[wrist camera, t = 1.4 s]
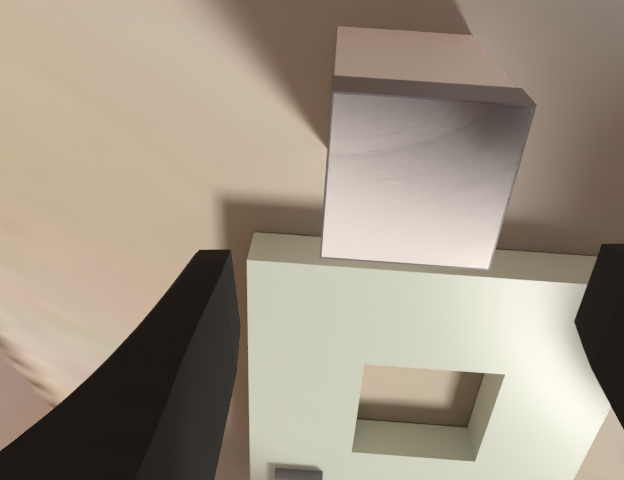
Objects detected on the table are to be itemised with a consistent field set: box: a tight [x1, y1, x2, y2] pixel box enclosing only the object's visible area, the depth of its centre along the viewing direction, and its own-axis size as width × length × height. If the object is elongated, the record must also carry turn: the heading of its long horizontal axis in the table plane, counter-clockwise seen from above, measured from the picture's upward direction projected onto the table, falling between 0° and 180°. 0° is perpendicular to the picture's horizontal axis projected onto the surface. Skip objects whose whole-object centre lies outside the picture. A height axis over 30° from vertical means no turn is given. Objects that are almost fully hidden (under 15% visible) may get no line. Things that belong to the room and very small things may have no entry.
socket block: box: [247, 232, 611, 480], centre depth 26 cm, size 16×16×3 cm
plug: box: [320, 26, 536, 271], centre depth 16 cm, size 4×4×7 cm
